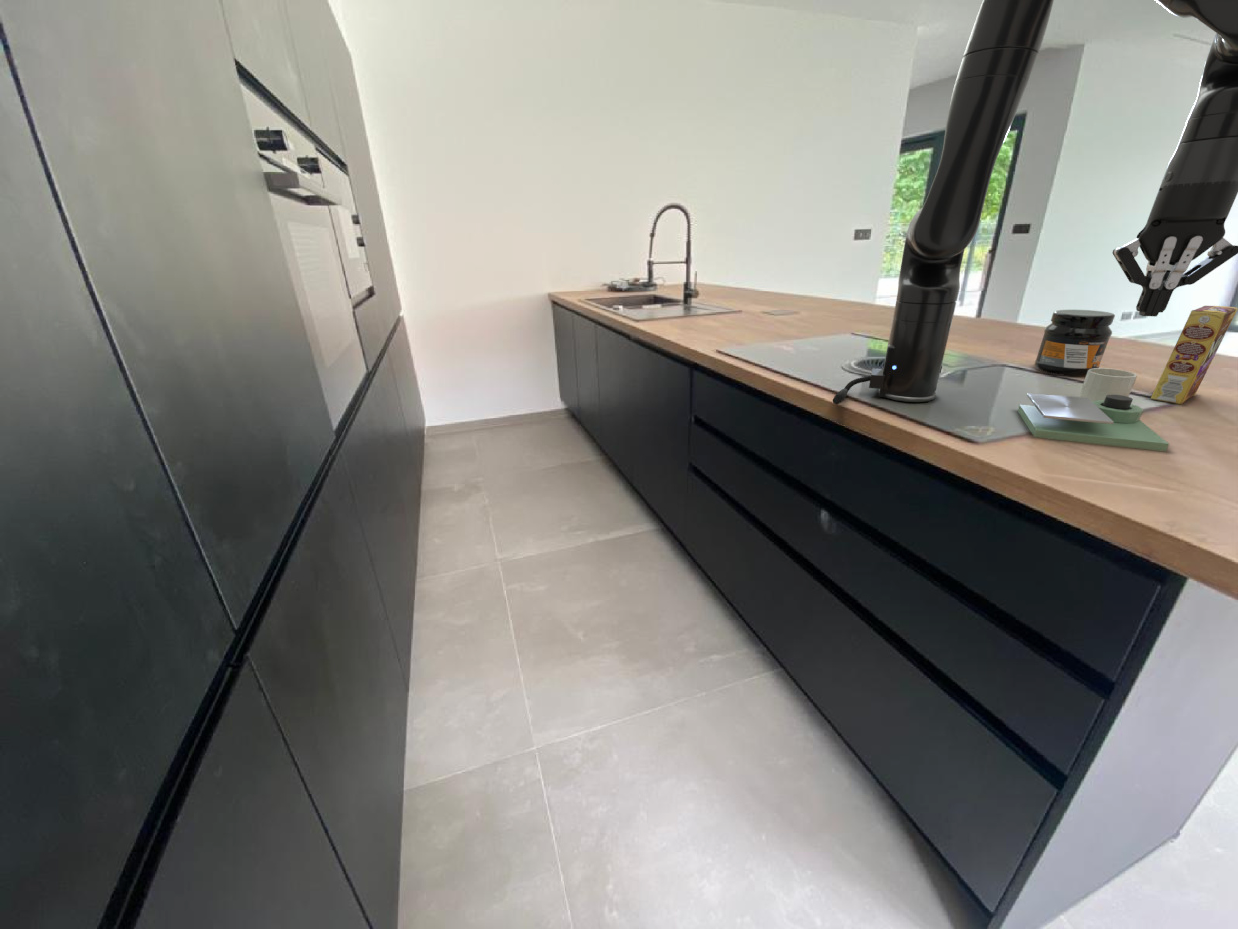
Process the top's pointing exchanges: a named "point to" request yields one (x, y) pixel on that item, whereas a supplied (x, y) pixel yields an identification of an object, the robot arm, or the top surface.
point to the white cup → (1107, 383)
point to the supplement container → (1074, 342)
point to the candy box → (1193, 353)
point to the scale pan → (1068, 408)
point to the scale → (1096, 428)
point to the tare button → (1117, 402)
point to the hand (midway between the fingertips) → (1147, 315)
